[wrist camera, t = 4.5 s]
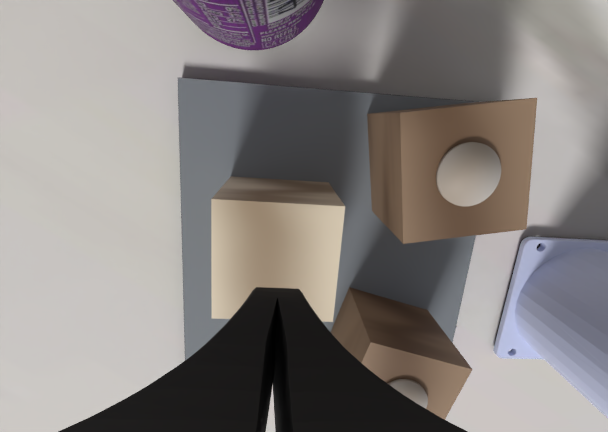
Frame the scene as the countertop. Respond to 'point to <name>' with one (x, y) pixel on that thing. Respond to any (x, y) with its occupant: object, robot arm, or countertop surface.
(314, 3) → the beverage can
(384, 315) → the walnut block
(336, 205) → the maple block
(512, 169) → the walnut block
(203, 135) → the slate mat
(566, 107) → the countertop surface
